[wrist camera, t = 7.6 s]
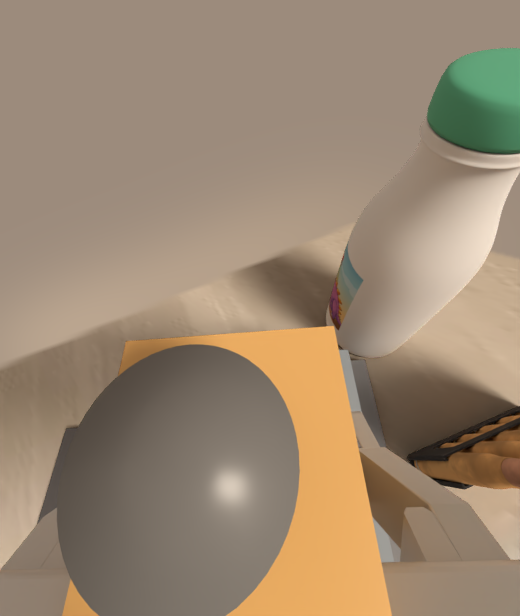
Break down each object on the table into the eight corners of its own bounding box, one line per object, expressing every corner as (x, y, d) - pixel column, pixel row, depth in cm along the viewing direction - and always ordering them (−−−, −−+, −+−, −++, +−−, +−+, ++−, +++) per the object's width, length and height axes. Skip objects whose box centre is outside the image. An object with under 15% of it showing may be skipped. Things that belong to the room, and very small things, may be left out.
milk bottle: (417, 318, 26) (691, 46, 8) (379, 377, 23) (652, 163, 6) (350, 279, 29) (451, 18, 11) (309, 328, 26) (358, 89, 9)
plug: (232, 499, 14) (-231, 905, 1) (233, 414, 16) (46, 286, 4) (311, 496, 13) (570, 965, 1) (302, 410, 15) (359, 258, 3)
